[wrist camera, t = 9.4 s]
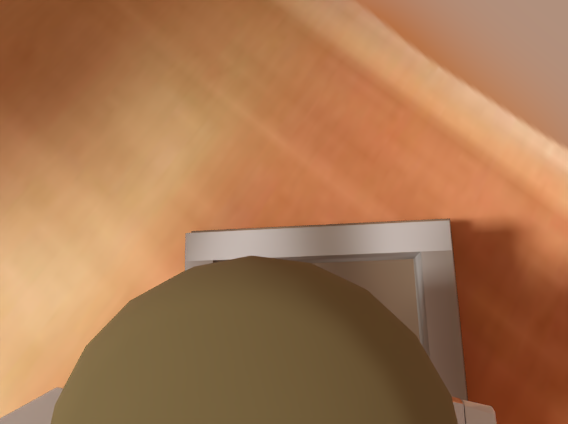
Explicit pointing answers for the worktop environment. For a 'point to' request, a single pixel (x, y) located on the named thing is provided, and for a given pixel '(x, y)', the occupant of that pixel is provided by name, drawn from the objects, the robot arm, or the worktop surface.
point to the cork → (255, 354)
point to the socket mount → (368, 272)
